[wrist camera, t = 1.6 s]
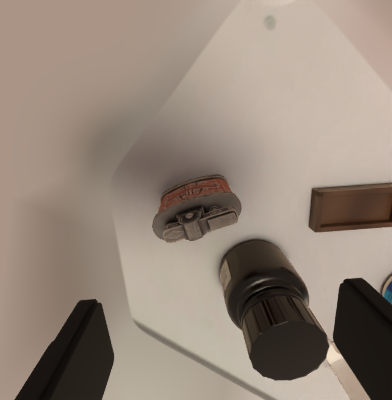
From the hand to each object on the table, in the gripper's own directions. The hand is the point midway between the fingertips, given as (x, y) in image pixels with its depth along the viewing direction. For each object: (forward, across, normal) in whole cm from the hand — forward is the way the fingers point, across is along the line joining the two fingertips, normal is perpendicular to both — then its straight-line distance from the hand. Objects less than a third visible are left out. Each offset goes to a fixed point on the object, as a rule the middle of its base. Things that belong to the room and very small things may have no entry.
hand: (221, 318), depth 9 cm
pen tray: (+20, -18, +4) cm, 27 cm away
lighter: (+20, +1, 0) cm, 20 cm away
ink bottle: (+20, -6, +12) cm, 24 cm away
